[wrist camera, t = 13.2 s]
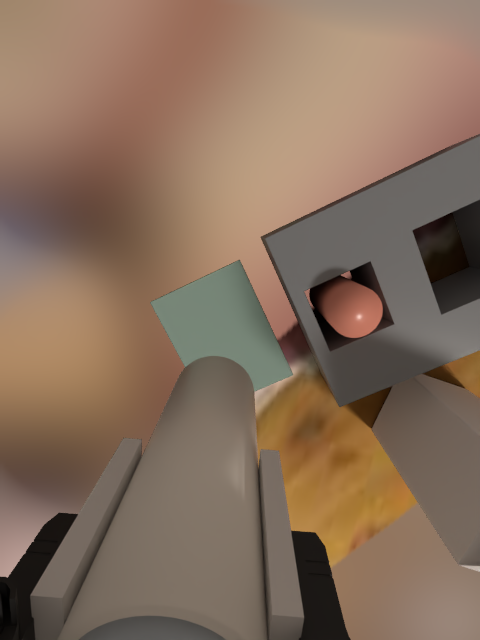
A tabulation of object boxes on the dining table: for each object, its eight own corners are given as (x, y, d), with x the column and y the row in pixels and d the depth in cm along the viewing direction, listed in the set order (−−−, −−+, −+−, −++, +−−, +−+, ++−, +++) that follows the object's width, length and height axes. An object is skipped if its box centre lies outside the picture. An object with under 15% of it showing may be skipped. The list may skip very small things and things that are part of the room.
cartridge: (173, 425, 23) (25, 826, 7) (177, 352, 22) (6, 651, 6) (250, 431, 23) (260, 845, 7) (257, 359, 22) (288, 673, 6)
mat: (151, 301, 32) (150, 302, 32) (239, 259, 31) (239, 259, 31) (209, 408, 35) (208, 411, 35) (292, 373, 34) (293, 375, 34)
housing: (260, 236, 31) (265, 238, 24) (448, 146, 29) (511, 120, 22) (320, 372, 34) (339, 407, 27) (494, 298, 32) (562, 316, 25)
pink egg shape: (303, 283, 31) (321, 299, 24) (341, 266, 31) (371, 276, 23) (318, 319, 32) (340, 346, 24) (356, 303, 31) (390, 324, 24)
